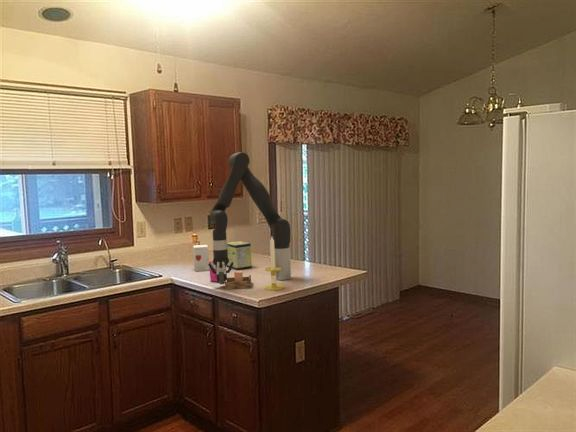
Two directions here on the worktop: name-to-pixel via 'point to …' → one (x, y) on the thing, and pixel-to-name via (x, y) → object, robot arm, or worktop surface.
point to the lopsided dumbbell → (237, 275)
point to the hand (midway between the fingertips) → (222, 281)
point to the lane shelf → (238, 283)
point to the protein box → (239, 255)
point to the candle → (273, 269)
